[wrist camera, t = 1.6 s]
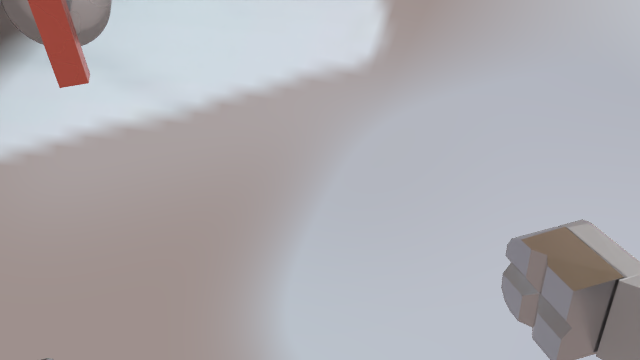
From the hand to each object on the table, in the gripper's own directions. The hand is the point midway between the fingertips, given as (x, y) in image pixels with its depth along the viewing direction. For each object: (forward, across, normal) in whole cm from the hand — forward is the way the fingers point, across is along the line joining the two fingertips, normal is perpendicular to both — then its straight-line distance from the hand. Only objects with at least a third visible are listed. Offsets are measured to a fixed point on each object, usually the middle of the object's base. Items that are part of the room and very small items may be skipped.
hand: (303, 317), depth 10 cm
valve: (+30, +5, -2) cm, 31 cm away
